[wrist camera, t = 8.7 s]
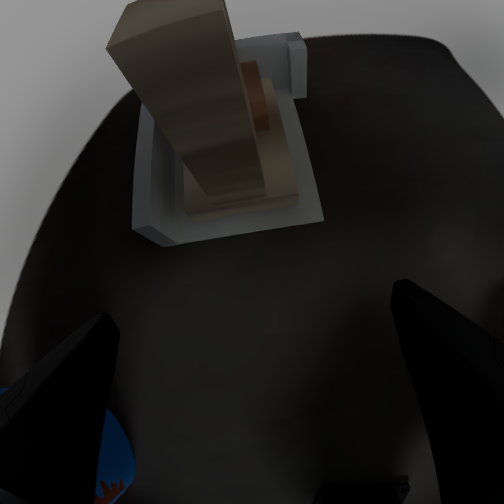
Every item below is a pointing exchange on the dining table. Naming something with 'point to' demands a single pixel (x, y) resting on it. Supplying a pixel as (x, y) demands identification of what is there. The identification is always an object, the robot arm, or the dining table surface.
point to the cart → (207, 105)
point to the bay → (171, 165)
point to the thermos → (112, 462)
